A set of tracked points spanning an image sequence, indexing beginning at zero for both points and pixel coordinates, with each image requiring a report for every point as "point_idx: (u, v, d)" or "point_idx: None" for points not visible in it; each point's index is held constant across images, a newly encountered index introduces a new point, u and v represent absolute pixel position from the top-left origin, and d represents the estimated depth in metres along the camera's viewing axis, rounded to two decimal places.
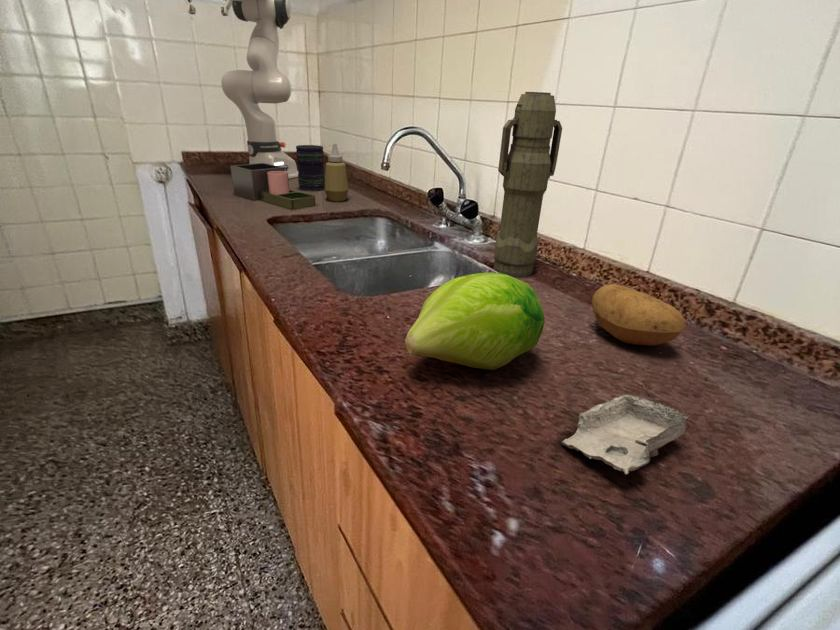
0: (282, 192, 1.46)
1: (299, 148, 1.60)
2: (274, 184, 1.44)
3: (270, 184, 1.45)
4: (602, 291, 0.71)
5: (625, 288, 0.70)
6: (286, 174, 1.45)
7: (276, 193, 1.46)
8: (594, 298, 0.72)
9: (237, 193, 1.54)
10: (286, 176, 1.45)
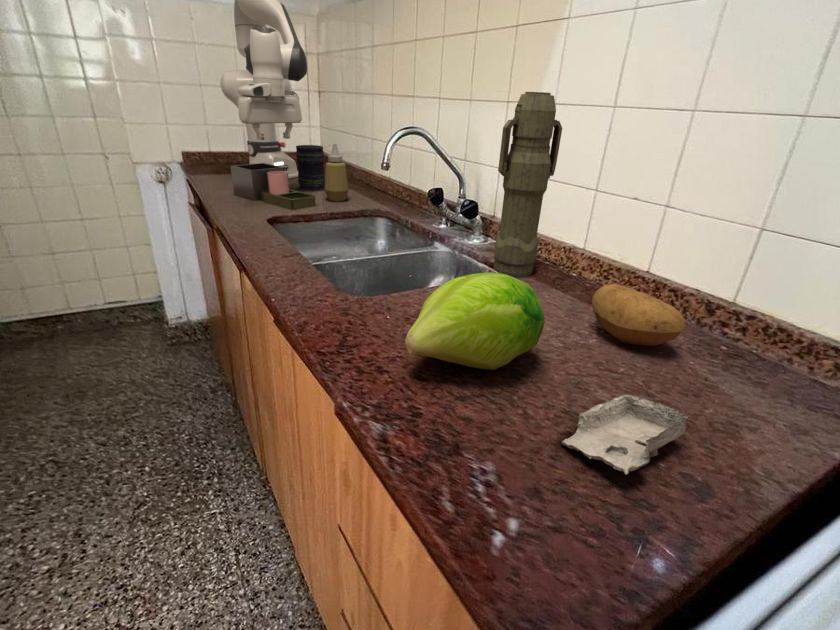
0: (282, 192, 1.46)
1: (299, 148, 1.60)
2: (274, 184, 1.44)
3: (270, 184, 1.45)
4: (602, 291, 0.71)
5: (625, 288, 0.70)
6: (286, 174, 1.45)
7: (276, 193, 1.46)
8: (594, 298, 0.72)
9: (237, 193, 1.54)
10: (286, 176, 1.45)
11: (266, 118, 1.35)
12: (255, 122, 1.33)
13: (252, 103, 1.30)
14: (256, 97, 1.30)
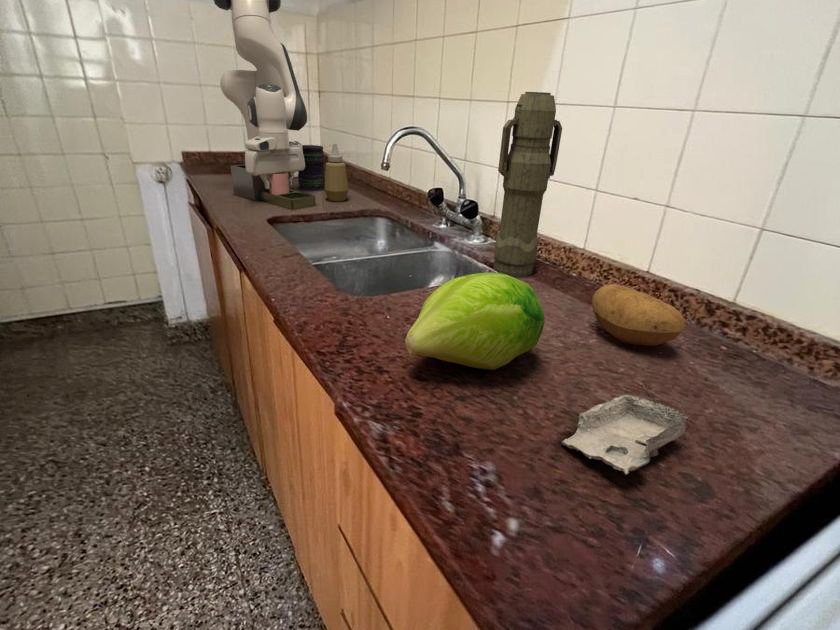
0: (282, 192, 1.46)
1: None
2: (274, 184, 1.44)
3: None
4: (602, 291, 0.71)
5: (625, 288, 0.70)
6: (286, 174, 1.45)
7: (276, 193, 1.46)
8: (594, 298, 0.72)
9: (237, 193, 1.54)
10: (286, 176, 1.45)
11: (272, 169, 1.42)
12: (261, 174, 1.40)
13: (258, 157, 1.37)
14: (262, 151, 1.37)
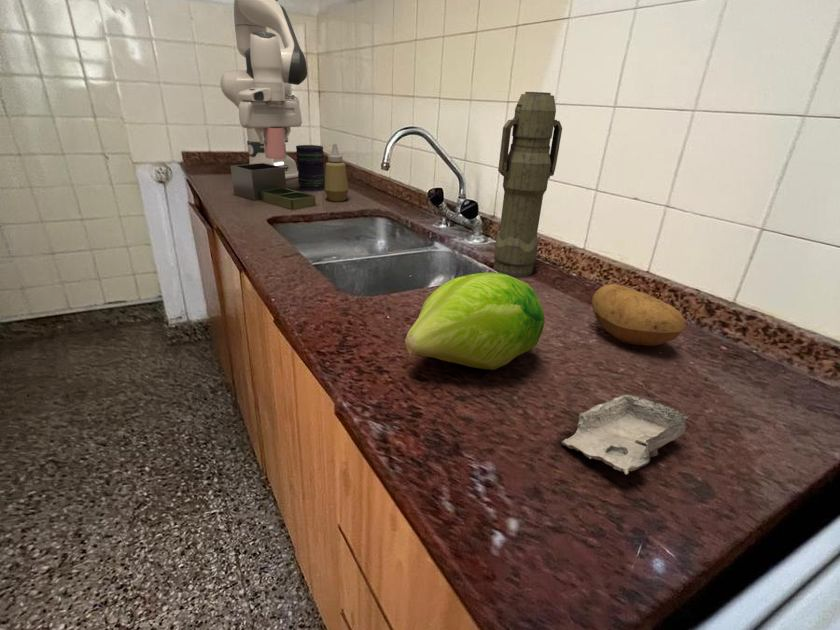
0: (278, 148, 1.40)
1: (299, 148, 1.60)
2: (270, 139, 1.39)
3: None
4: (602, 291, 0.71)
5: (625, 288, 0.70)
6: (282, 128, 1.39)
7: (272, 149, 1.40)
8: (594, 298, 0.72)
9: (237, 193, 1.54)
10: (282, 131, 1.40)
11: (267, 122, 1.36)
12: (255, 127, 1.34)
13: (252, 108, 1.31)
14: (257, 102, 1.31)
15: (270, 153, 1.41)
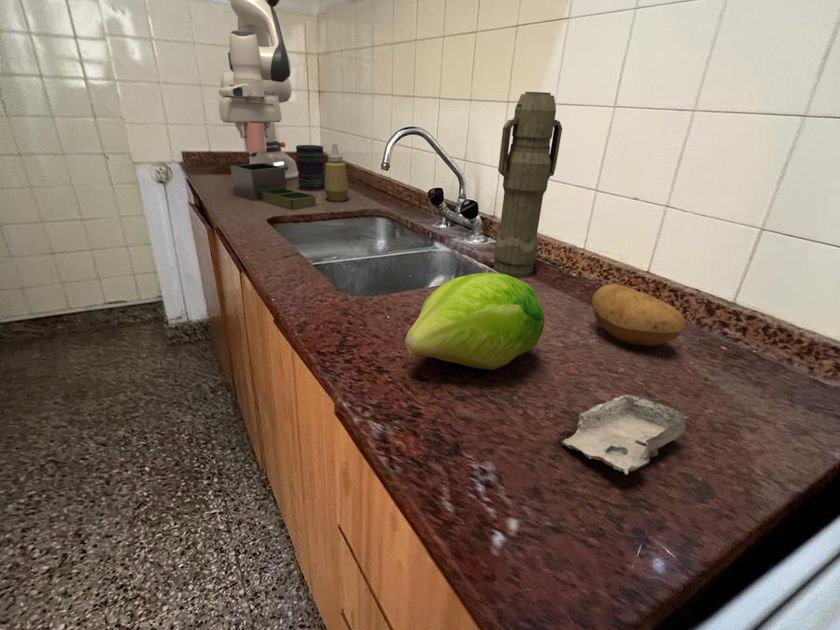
0: (258, 142, 1.46)
1: (299, 148, 1.60)
2: (250, 134, 1.44)
3: None
4: (602, 291, 0.71)
5: (625, 288, 0.70)
6: (261, 123, 1.45)
7: (252, 143, 1.45)
8: (594, 298, 0.72)
9: (237, 193, 1.54)
10: (261, 126, 1.45)
11: (246, 117, 1.42)
12: (235, 121, 1.40)
13: (232, 103, 1.37)
14: (236, 97, 1.37)
15: (250, 147, 1.46)
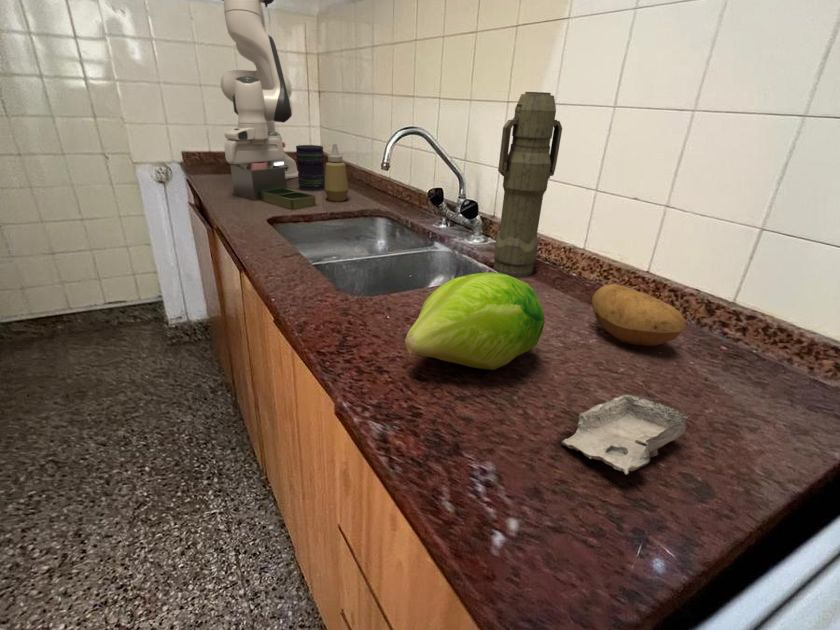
0: None
1: (299, 148, 1.60)
2: None
3: None
4: (602, 291, 0.71)
5: (625, 288, 0.70)
6: (265, 163, 1.50)
7: None
8: (594, 298, 0.72)
9: (237, 193, 1.54)
10: (265, 165, 1.51)
11: (251, 158, 1.47)
12: (240, 163, 1.45)
13: (237, 146, 1.42)
14: (241, 140, 1.42)
15: None
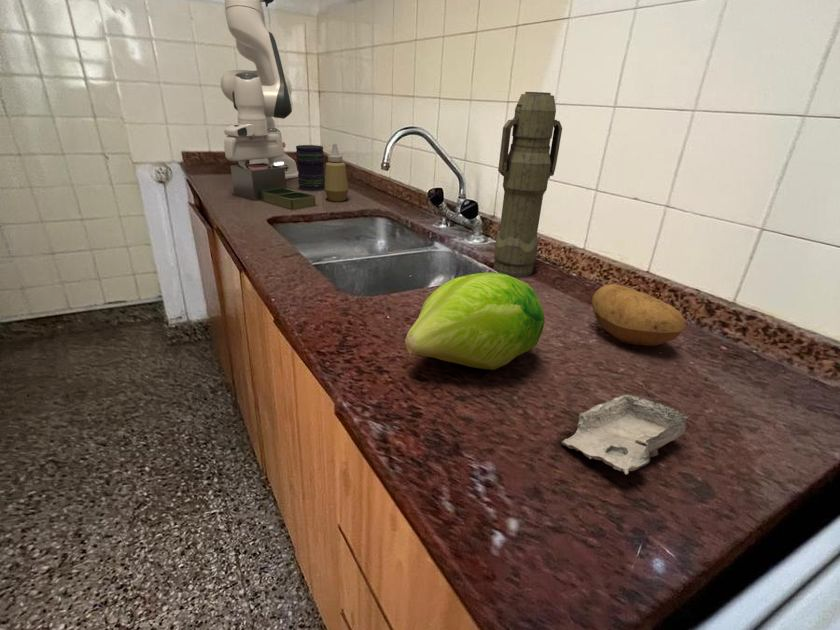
0: None
1: (299, 148, 1.60)
2: None
3: None
4: (602, 291, 0.71)
5: (625, 288, 0.70)
6: (265, 167, 1.51)
7: None
8: (594, 298, 0.72)
9: (237, 193, 1.54)
10: None
11: (250, 155, 1.47)
12: (240, 159, 1.45)
13: (237, 143, 1.42)
14: (240, 137, 1.42)
15: None
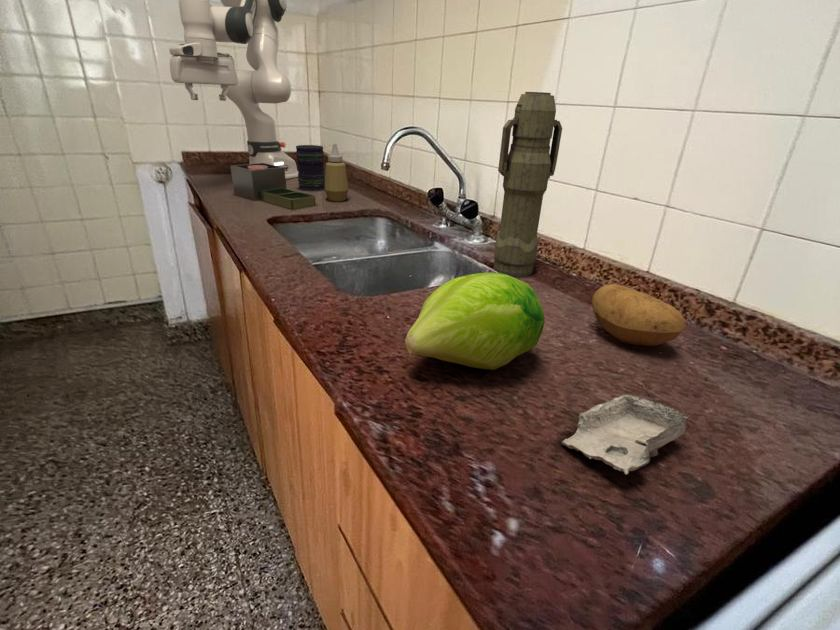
0: None
1: (299, 148, 1.60)
2: None
3: None
4: (602, 291, 0.71)
5: (625, 288, 0.70)
6: (265, 167, 1.51)
7: None
8: (594, 298, 0.72)
9: (237, 193, 1.54)
10: None
11: (199, 78, 1.39)
12: (187, 82, 1.37)
13: (183, 62, 1.34)
14: (186, 56, 1.34)
15: None
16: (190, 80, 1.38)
